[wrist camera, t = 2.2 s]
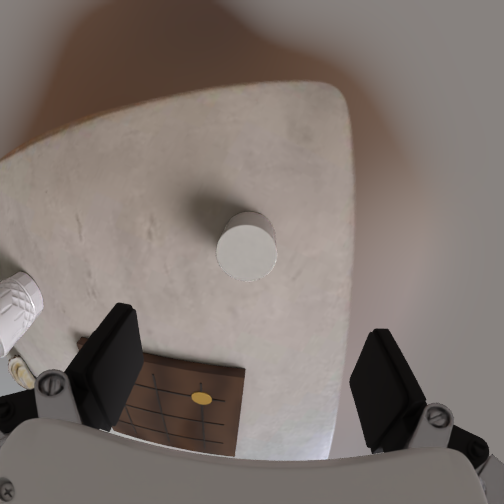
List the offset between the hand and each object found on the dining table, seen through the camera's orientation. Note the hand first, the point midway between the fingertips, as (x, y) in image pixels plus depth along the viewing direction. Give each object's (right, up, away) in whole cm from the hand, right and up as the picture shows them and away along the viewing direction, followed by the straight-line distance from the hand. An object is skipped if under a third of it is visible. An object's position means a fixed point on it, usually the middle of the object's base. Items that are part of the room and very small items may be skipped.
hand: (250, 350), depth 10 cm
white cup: (-31, -2, +19) cm, 36 cm away
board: (-13, -19, +25) cm, 33 cm away
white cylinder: (0, +5, +14) cm, 15 cm away
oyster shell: (-42, -19, +26) cm, 53 cm away
